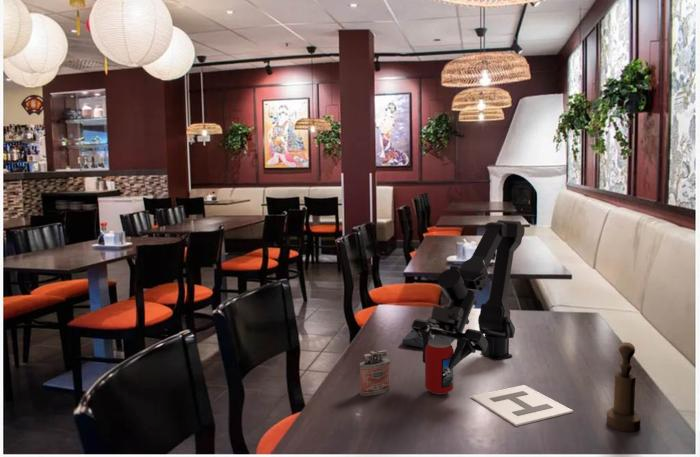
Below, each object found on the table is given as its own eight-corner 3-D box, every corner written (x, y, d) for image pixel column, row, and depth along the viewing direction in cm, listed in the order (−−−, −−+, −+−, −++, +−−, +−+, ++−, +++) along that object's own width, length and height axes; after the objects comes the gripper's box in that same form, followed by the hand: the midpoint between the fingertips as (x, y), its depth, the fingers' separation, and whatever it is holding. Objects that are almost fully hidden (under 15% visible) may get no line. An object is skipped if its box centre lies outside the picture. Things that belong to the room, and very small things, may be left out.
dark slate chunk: (393, 347, 173) (393, 332, 173) (417, 328, 193) (417, 314, 192) (442, 354, 167) (442, 339, 166) (462, 333, 186) (462, 319, 186)
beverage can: (452, 396, 135) (453, 347, 133) (424, 394, 136) (424, 346, 135) (453, 385, 141) (454, 338, 140) (426, 383, 143) (426, 337, 141)
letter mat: (524, 386, 142) (524, 384, 142) (573, 412, 128) (573, 410, 128) (471, 397, 136) (471, 395, 136) (516, 426, 121) (516, 423, 121)
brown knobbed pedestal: (600, 418, 125) (604, 338, 122) (628, 417, 125) (633, 337, 123) (617, 433, 118) (621, 348, 116) (646, 431, 119) (651, 347, 116)
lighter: (363, 397, 137) (363, 356, 135) (357, 392, 140) (357, 352, 138) (392, 390, 140) (392, 351, 139) (385, 385, 143) (385, 347, 142)
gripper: (414, 287, 144) (390, 341, 137) (483, 298, 133) (461, 357, 126) (430, 310, 152) (408, 363, 144) (496, 322, 140) (476, 380, 133)
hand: (436, 365), depth 137 cm, fingers closed on beverage can, 7 cm apart
